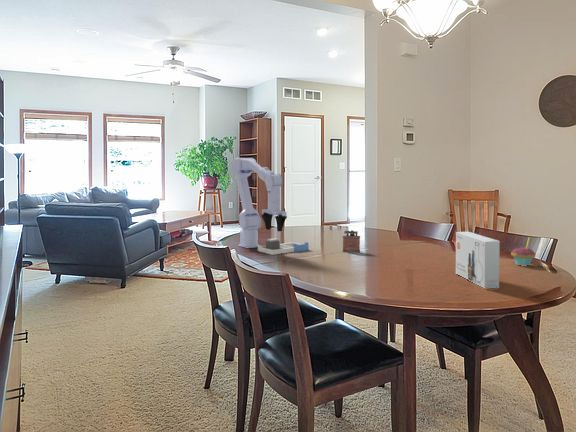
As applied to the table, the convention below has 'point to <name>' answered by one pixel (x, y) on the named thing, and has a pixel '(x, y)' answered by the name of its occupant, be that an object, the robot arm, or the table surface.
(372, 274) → the table surface
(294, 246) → the white cubby shelf
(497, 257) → the skincare box
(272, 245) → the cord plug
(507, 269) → the table surface
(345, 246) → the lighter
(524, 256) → the cupcake
